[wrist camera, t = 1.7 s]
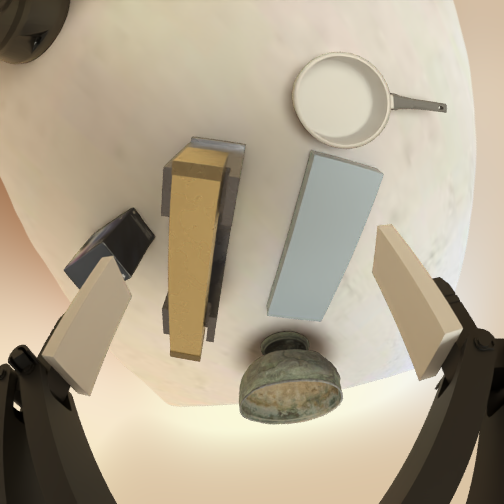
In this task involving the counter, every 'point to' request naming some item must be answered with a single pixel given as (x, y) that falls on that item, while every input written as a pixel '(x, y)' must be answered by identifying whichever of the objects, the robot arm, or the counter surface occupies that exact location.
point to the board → (322, 235)
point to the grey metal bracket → (222, 227)
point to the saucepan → (347, 100)
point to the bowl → (289, 383)
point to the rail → (192, 245)
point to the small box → (112, 247)
